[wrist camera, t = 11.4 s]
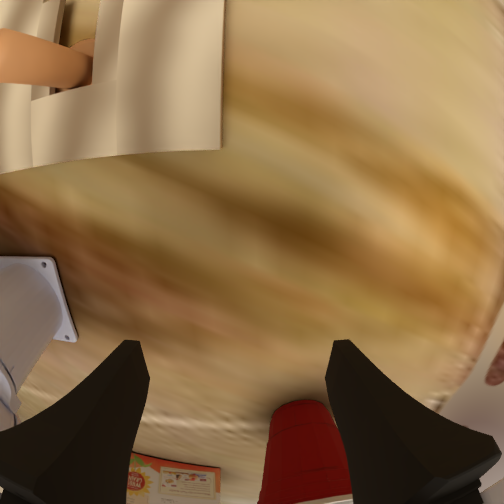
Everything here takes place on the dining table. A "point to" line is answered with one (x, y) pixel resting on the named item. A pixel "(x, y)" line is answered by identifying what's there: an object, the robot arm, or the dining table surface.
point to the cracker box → (171, 482)
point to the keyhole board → (120, 84)
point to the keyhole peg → (44, 61)
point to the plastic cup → (305, 458)
